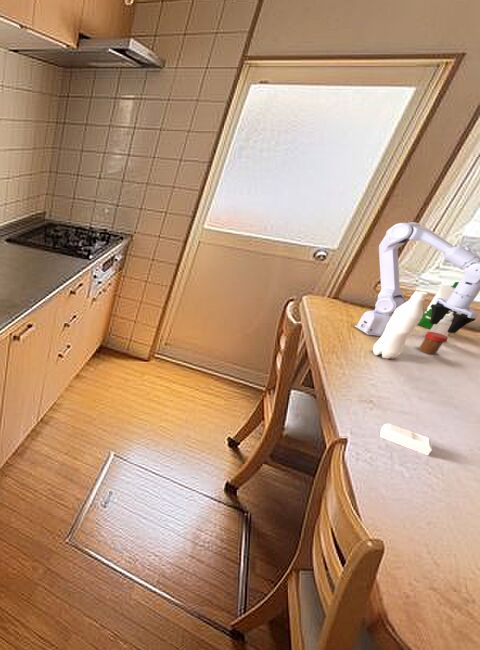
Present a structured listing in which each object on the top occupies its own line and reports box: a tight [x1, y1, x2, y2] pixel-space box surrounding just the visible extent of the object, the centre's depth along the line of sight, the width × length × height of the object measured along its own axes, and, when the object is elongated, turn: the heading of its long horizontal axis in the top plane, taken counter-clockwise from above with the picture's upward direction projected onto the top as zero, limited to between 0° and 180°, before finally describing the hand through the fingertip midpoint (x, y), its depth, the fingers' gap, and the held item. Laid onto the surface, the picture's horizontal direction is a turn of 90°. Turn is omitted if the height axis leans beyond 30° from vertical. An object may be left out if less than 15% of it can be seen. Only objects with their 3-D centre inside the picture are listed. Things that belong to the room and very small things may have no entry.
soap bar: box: [380, 423, 433, 457], centre depth 108 cm, size 5×9×3 cm, turn 46°
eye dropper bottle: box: [428, 312, 454, 337], centre depth 168 cm, size 4×6×12 cm
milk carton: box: [417, 281, 460, 330], centre depth 178 cm, size 9×9×20 cm
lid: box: [424, 331, 449, 343], centre depth 157 cm, size 6×6×2 cm
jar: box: [418, 337, 444, 355], centre depth 158 cm, size 5×5×6 cm
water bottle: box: [372, 290, 428, 360], centre depth 148 cm, size 7×7×25 cm
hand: (441, 328), depth 155 cm, fingers open, 7 cm apart
